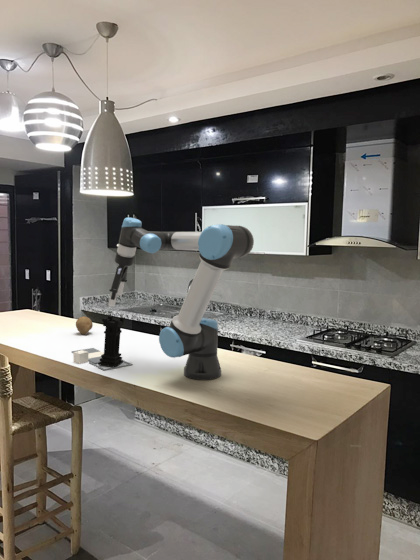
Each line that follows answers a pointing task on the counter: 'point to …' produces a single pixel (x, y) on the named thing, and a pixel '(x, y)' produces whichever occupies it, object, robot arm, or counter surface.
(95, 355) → the track
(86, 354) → the die
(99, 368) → the grey flat square frame
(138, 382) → the counter surface
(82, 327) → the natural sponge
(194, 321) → the robot arm
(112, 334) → the chess piece
